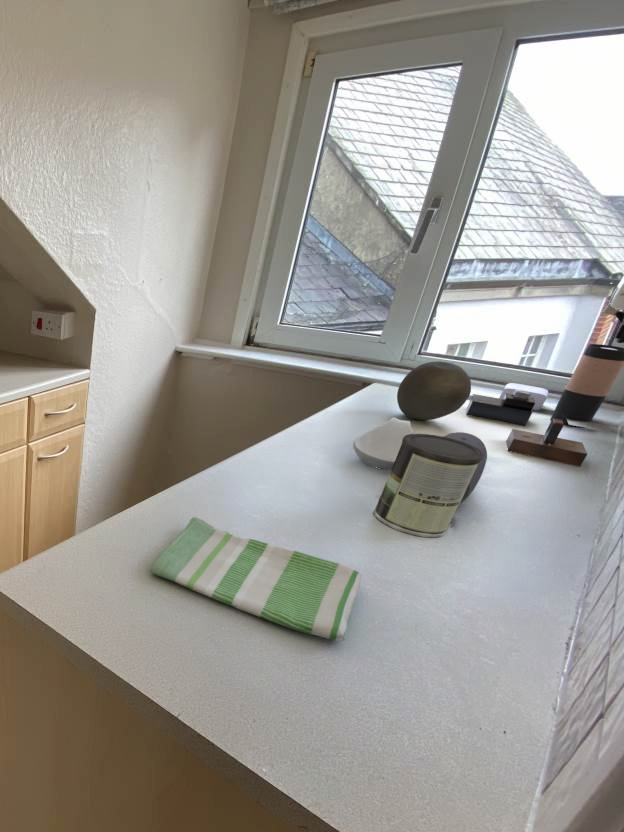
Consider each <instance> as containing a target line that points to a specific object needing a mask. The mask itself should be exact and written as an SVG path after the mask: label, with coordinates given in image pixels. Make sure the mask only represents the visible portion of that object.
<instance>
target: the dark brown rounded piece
mask: <svg viewBox="0 0 624 832" xmlns="http://www.w3.org/2000/svg"><path fill="white" fill-rule="evenodd" d="M471 381H472V380H471V378H470V376H469V374H468V373H467V371H465V370H464V368H462V366H459V365H457V364H455V363H452V362H446V361H442V360H441V361H439V360H438V361H437V360H436V361H429V362H428V361H427V362H426V363H422V364H419V365H418V366H415V368H413V369H411V370H410V371H409V372H408V373H407V374H406V375H405V376H404V378H403V379H402V380H401V382H400V384H399V386H398V389H397V392H396V393H397V394H396V399H397V400H396V401H397V406H398V408H399V410H400V411H401V413H402V414H403V415H405V416H406V417H408V418H410V419H412V420H417V421H431V420H432V421H433V420H437V419H440V418H443V417H447V416H448V415H451V414H453V413H455V412H457V411H458V410H460V409H461V407H463V405H464V404H465V403H466V402H467V401H468V399H469V397H470V395H471V393H472V382H471Z"/></svg>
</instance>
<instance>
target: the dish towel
mask: <svg viewBox="0 0 624 832" xmlns="http://www.w3.org/2000/svg"><path fill="white" fill-rule="evenodd" d="M149 572H150V573H151V574H153V575H155V576H158V577H161V578H163V579H166V580H168V581H171V582H175V584H176V583H177V584H178V585H181V586H183V587H186V588H188V589H190V590H192V591H194V592H197V593H199V594H202V595H204V596H206V597H209V598H211V599H213V600H215V601H218V602H221V603H223V604H225V605H228V606H231V607H234V608H236V609H238V610H240V611H242V612H244V613H245V612H246V613H249V614H251V615H253V616H257V617H259V618H261V619H264V620H267V621H269V622H271V623H274V624H277V625H280V626H281V627H282V626H283V627H285V628H288V629H291V630H293V631H296V632H301V633H304V634H309V635H314V636H317V637H320V638H323V639H324V638H325V639H327V640H331V641H339V642H342V641H345V637H346V636H345V634H346V631H347V627H348V624H349V620H350V617H351V614H352V612H353V609H354V605H355V602H356V599H357V596H358V593H359V589H360V587H361V579H362V573H361V572H360V571H357V570H355V569H354V568H352V567H351V566H348V565H345V564H342V563H339V562H335V561H332V560H328V559H324V558H321V557H318V556H315V555H311V554H307V553H305V552H302V551H298V550H293V549H289V548H285V547H281V546H277V545H273V544H270V543H268V542H264V541H262V540H258V539H253V538H245V537H241V536H238V535H235V534H233V533H230V532H229V531H225V530H223V529H220V528H218V527H215V526H213V525H211V524H209V523H207V522H206V521H204V520H203V519H201V518H199V517H196V516H194V517H191V519H190V520H189V522H188V524H187V525H186V526H185V528H184V530H183V532H181V534H180V535H178V536H177V537H176V538H175V539H174V540H173V541H172V542H171V543H170V544H169V545H168V546H167V548H165V549H164V550H163V551H162V552H161V553H160V554H159V556H158V557H156V559H155V560H154V562H153V563H152V564H151V565H150V568H149Z"/></svg>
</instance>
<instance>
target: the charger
mask: <svg viewBox="0 0 624 832" xmlns="http://www.w3.org/2000/svg"><path fill="white" fill-rule="evenodd" d="M515 390H522V391H528V392H530V396H529V397H531V398H534V400H535V405H534V406H533V408H532V411H540V410H542V408H543V406H544V404H545V402H546V400H547V399H548V395H549V390H548V389H547V388H543V387H537V386H533V385H526V384H522V383H521V384H520V383H516V382H515V383H514V382H509V383H507V384H505V387H504V388H503V390H502V392H501V393H500V396H499V397H498V398H499V399H503V398H504V396H505V393H507V394H514V392H515Z"/></svg>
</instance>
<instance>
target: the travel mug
mask: <svg viewBox="0 0 624 832" xmlns="http://www.w3.org/2000/svg"><path fill="white" fill-rule="evenodd" d="M623 367H624V347H622V346H615V345H610V344H609V345H608V344H601V343H589V344H588V345H587V347H586V349H585V351H584V353H583V354H582V356H581V358H580V360H579V362H578V363H577V366H576V368H575V370H574V371H573V373H572V375H571V376H570V379H568V382H567V384H566V386H565V387H564V389H563V392H562V393H561V396H560V398H559V400H558V402H557V404H556V406H555V408H554V409H553V412H552V415H551V416H550V419H549V420H550V422H551V421H552V419H553V418H554V419H559V420H562V421H563V424H564V426H563V427H569V428H576V429H586V427H585V426H579V425H574V424H569V421H568V420H570V421H574V422H575V421H577V422H585V423H586V422H587V423H589V422H592V421H593V419H594V417H595V416H596V414H597V412H598V411H599V409H600V407H601V406H602V404H603V402H604V401H605V399H606V397H607V396H608V394H609V393H610V390H611V389H612V387H613V385H614V383H615V381H616V380H617V378H618V376H619V374H620V372H621V371H622V369H623Z"/></svg>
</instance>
